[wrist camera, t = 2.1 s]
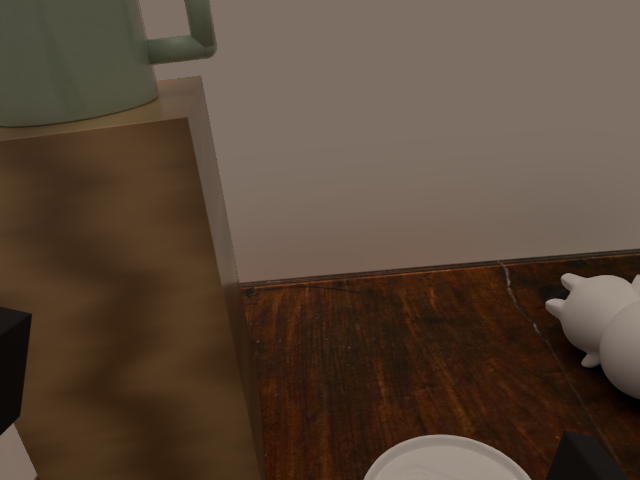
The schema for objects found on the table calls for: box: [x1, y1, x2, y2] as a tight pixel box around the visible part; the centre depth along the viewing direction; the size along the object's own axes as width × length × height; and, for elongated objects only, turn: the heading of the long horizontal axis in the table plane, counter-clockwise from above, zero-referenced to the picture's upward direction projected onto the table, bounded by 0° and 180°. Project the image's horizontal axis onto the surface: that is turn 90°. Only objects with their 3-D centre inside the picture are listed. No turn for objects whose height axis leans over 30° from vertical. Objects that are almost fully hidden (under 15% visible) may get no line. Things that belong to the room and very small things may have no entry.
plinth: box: [0, 76, 267, 480], centre depth 33 cm, size 12×12×26 cm
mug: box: [0, 0, 217, 127], centre depth 26 cm, size 12×8×8 cm
